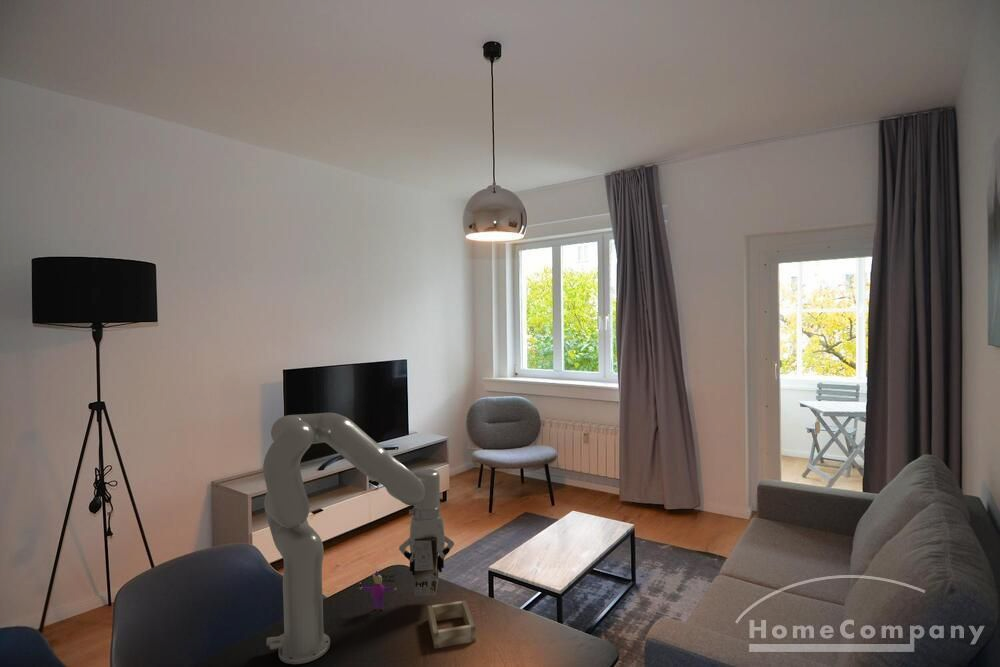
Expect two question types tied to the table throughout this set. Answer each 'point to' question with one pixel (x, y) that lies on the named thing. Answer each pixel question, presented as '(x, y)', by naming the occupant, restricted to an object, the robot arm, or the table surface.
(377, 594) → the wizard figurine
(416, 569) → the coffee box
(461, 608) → the open wooden box
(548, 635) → the table surface
